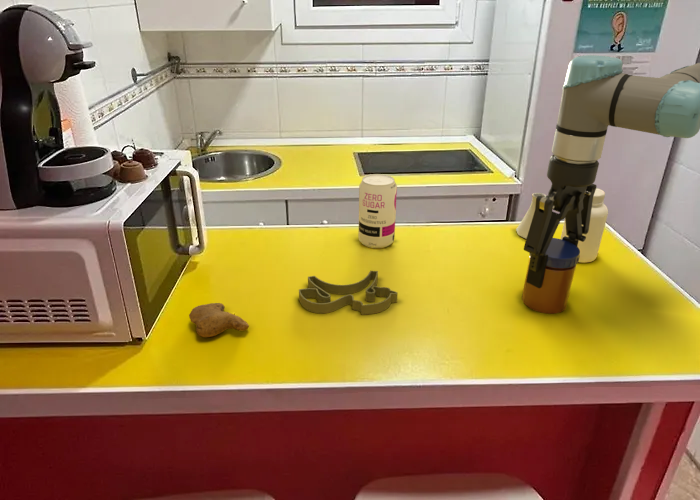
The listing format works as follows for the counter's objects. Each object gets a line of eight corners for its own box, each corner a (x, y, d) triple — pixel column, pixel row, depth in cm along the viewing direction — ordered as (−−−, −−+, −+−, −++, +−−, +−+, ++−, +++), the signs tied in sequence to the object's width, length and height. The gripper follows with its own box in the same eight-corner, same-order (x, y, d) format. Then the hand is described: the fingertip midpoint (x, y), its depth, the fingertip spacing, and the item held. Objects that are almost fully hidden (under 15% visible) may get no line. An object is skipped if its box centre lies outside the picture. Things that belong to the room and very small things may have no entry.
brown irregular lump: (249, 337, 87) (248, 319, 86) (188, 344, 86) (185, 326, 84) (248, 305, 96) (246, 288, 94) (192, 310, 94) (189, 293, 92)
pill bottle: (550, 254, 114) (564, 190, 107) (568, 243, 119) (582, 181, 112) (586, 267, 109) (602, 201, 102) (602, 255, 114) (619, 191, 107)
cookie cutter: (386, 277, 105) (386, 269, 104) (401, 311, 94) (401, 302, 93) (297, 285, 102) (296, 276, 101) (302, 320, 92) (302, 311, 91)
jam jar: (572, 314, 94) (585, 263, 89) (528, 313, 94) (538, 262, 89) (558, 290, 101) (569, 242, 96) (516, 289, 101) (525, 241, 96)
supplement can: (389, 232, 124) (391, 172, 117) (397, 248, 116) (401, 185, 109) (355, 234, 122) (356, 174, 115) (362, 250, 115) (363, 187, 108)
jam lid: (529, 264, 91) (531, 254, 90) (529, 243, 98) (531, 234, 97) (579, 271, 88) (582, 261, 88) (576, 250, 96) (578, 240, 95)
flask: (510, 229, 126) (517, 190, 121) (537, 226, 127) (545, 188, 122) (525, 242, 119) (533, 202, 115) (554, 239, 121) (562, 199, 116)
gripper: (590, 141, 93) (565, 253, 103) (514, 162, 82) (494, 285, 92) (631, 152, 87) (600, 269, 98) (555, 176, 76) (529, 305, 87)
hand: (549, 277), depth 95 cm, fingers closed on jam lid, 8 cm apart
